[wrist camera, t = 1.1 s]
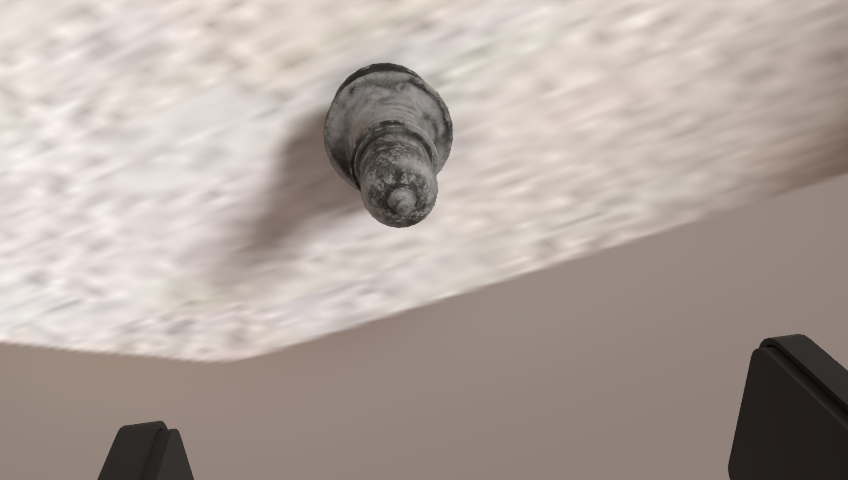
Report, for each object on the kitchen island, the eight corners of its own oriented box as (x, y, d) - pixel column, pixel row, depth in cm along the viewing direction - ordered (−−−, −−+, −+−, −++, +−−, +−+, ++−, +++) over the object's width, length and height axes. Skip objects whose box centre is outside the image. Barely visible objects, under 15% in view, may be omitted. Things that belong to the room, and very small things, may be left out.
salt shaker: (431, 45, 30) (477, 107, 20) (451, 158, 33) (500, 267, 22) (312, 70, 30) (293, 145, 20) (341, 181, 33) (338, 302, 22)
